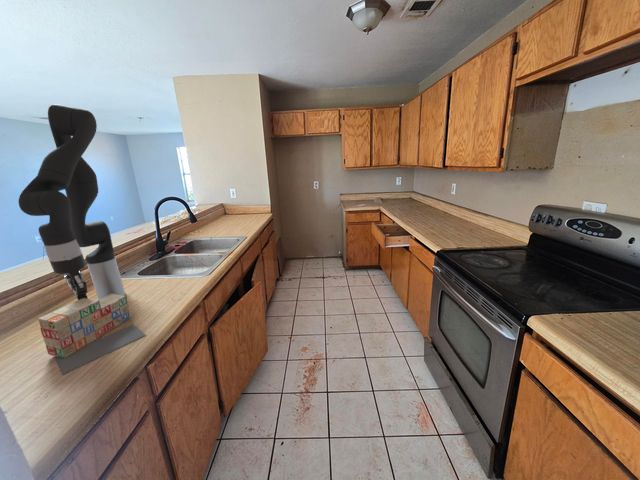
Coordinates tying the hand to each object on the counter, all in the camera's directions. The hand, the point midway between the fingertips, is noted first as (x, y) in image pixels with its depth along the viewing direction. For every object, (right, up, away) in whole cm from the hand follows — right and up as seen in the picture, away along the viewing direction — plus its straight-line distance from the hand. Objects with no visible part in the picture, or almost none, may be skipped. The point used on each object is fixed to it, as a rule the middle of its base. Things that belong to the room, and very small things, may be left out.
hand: (84, 303), depth 86 cm
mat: (+11, -12, -6) cm, 17 cm away
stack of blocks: (+4, -10, -1) cm, 11 cm away
